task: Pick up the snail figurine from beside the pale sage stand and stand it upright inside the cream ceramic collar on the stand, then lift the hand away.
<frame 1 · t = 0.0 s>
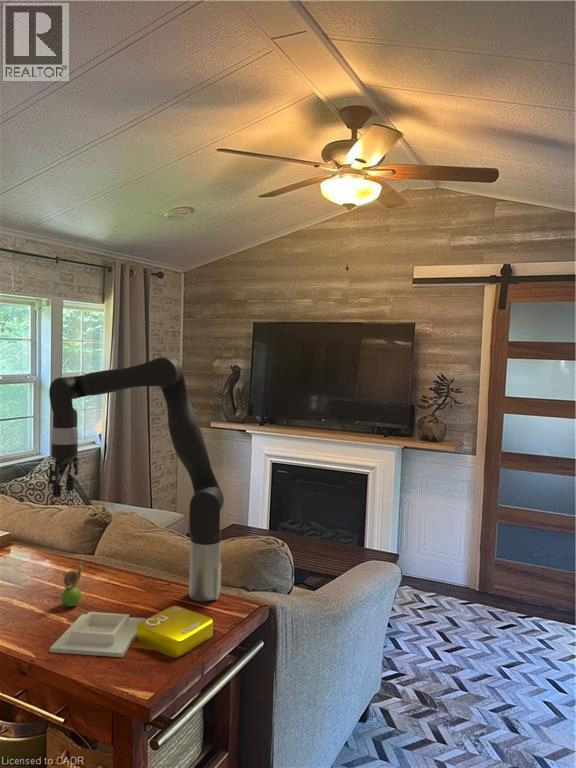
hand: (63, 493, 169), 29 cm above the table, tool pointing down, fingers open, 8 cm apart
collar stand: (100, 636, 141), on the table
element tile: (175, 639, 142), on the table
snail figurine: (72, 605, 158), on the table
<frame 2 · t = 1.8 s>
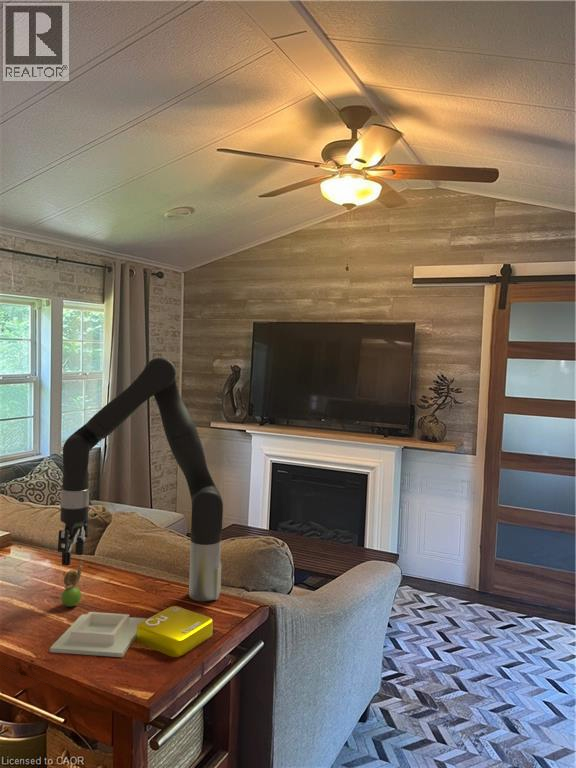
hand: (72, 559, 157), 13 cm above the table, tool pointing down, fingers open, 8 cm apart
nothing on the table moved.
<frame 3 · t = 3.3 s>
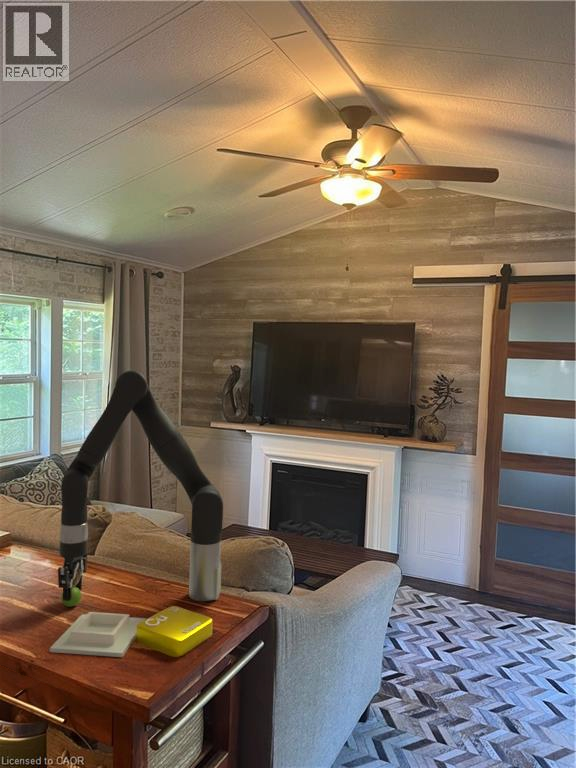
hand: (72, 594, 158), 3 cm above the table, tool pointing down, fingers open, 6 cm apart
snail figurine: (72, 605, 158), on the table, touching gripper
everything else where it was.
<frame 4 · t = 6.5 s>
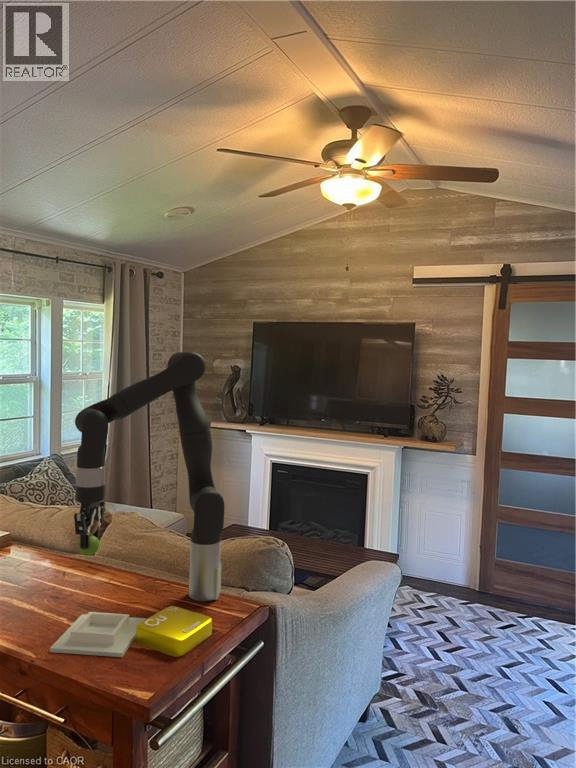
hand: (89, 544, 148), 21 cm above the table, tool pointing down, fingers closed on snail figurine, 5 cm apart
snail figurine: (90, 555, 149), point 18 cm above the table, touching gripper
everything else where it was.
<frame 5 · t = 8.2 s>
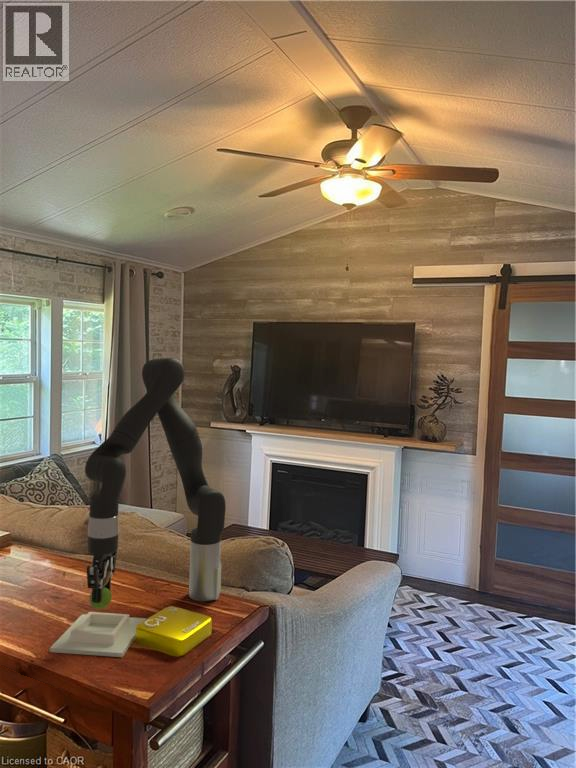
hand: (101, 596, 141), 10 cm above the table, tool pointing down, fingers closed on snail figurine, 5 cm apart
snail figurine: (101, 608, 141), point 7 cm above the table, touching gripper
everything else where it was.
when the fingers open (5 cm above the table, at t = 9.6 s): snail figurine moves 1 cm, resting on collar stand.
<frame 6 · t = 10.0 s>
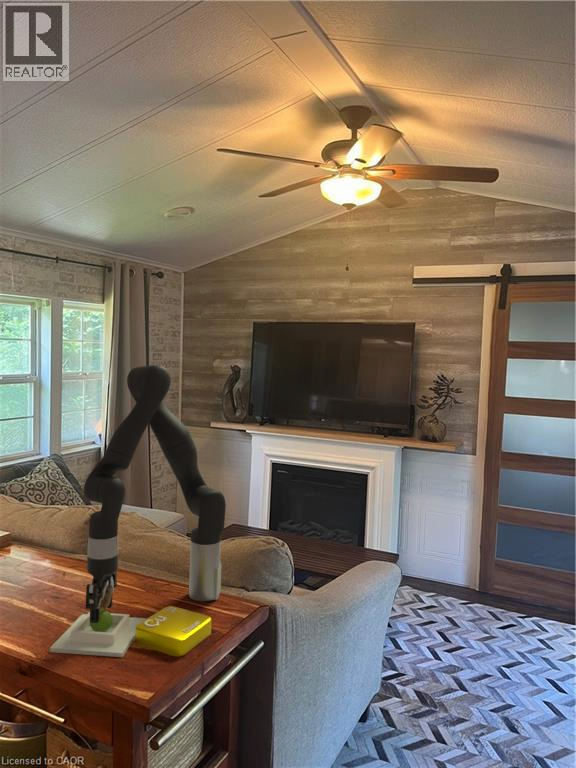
hand: (101, 614, 141), 6 cm above the table, tool pointing down, fingers open, 8 cm apart
snail figurine: (102, 631, 142), point 1 cm above the table, touching collar stand
everything else where it was.
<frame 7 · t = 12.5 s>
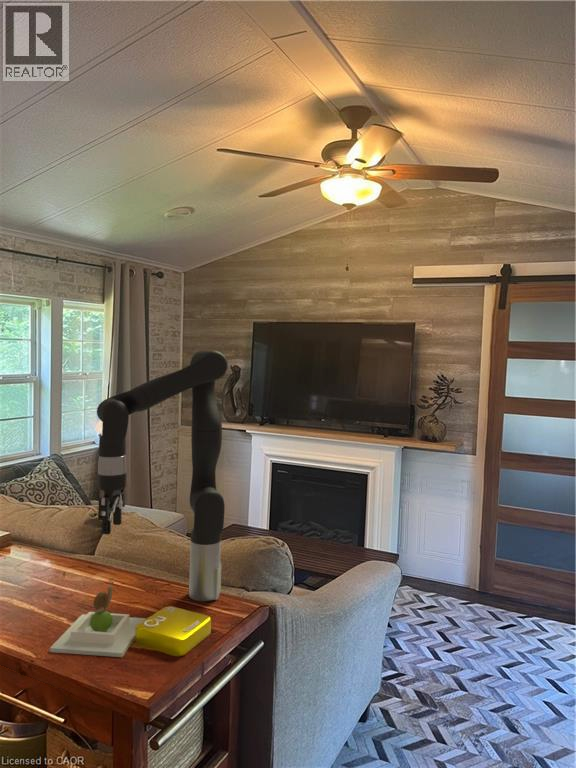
hand: (112, 529, 152), 24 cm above the table, tool pointing down, fingers open, 8 cm apart
nothing on the table moved.
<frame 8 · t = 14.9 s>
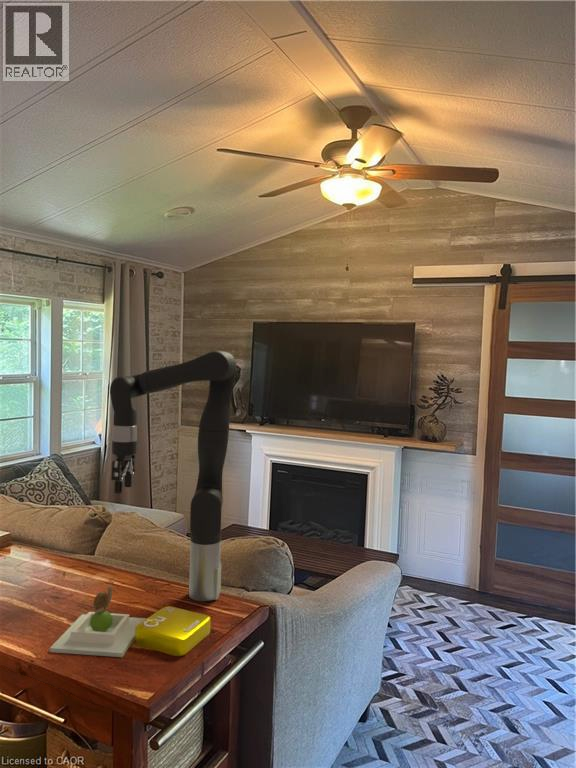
hand: (123, 490, 173), 30 cm above the table, tool pointing down, fingers open, 8 cm apart
nothing on the table moved.
at the end: snail figurine 0.9 cm off-centre on the collar stand, point 0.8 cm above the collar stand's base; snail figurine tilted 0°; the gripper is holding nothing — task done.
